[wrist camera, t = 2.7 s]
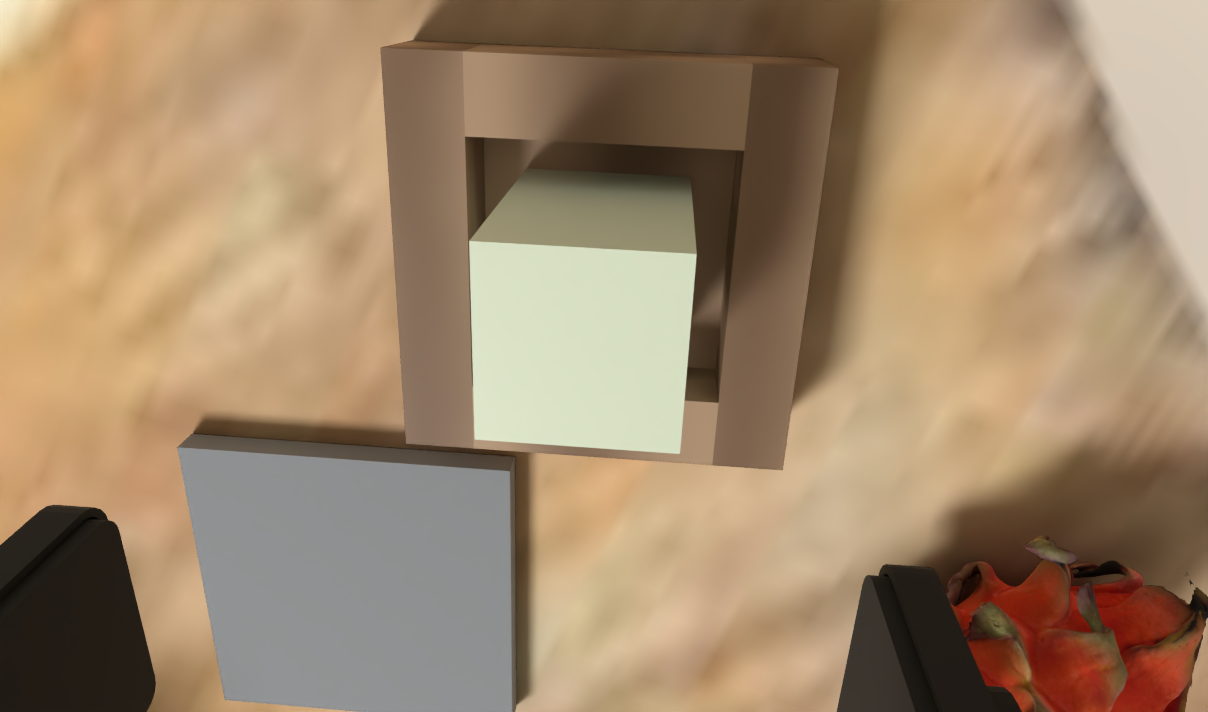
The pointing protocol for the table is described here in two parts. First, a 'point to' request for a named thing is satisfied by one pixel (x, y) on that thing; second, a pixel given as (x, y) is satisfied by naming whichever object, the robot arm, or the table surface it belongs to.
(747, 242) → the pocket base
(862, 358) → the table surface
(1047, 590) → the dragon fruit
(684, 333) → the sage block
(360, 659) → the slate pad
